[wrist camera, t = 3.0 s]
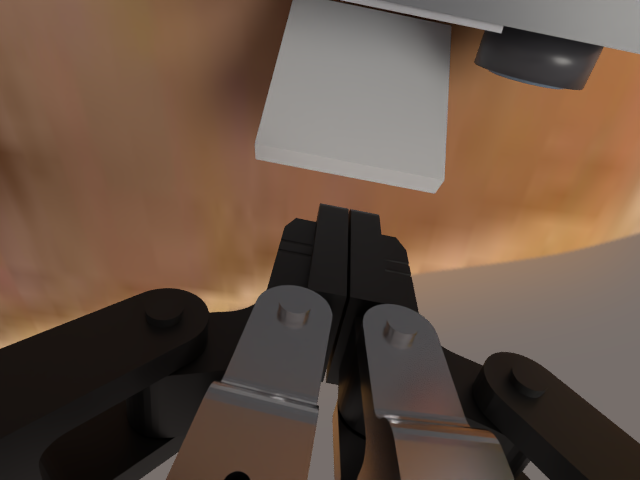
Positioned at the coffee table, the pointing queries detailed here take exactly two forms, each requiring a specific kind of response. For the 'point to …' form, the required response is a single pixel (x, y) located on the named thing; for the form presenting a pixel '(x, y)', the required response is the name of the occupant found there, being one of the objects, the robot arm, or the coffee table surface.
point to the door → (359, 95)
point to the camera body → (536, 34)
